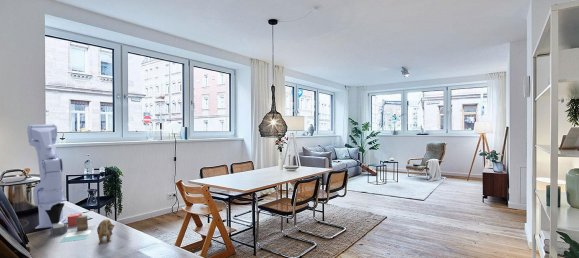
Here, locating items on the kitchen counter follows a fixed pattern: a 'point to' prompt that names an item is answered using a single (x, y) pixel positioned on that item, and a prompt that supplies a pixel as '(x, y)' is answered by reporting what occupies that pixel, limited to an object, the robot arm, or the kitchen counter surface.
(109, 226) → the lion figurine
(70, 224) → the red die
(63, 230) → the dome housing
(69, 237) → the game track
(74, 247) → the kitchen counter surface
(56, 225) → the dome cap
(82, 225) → the walnut pawn
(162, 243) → the kitchen counter surface
